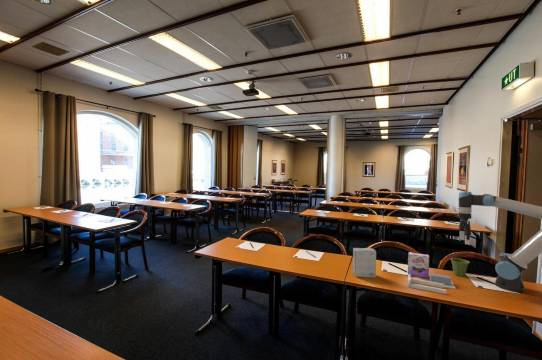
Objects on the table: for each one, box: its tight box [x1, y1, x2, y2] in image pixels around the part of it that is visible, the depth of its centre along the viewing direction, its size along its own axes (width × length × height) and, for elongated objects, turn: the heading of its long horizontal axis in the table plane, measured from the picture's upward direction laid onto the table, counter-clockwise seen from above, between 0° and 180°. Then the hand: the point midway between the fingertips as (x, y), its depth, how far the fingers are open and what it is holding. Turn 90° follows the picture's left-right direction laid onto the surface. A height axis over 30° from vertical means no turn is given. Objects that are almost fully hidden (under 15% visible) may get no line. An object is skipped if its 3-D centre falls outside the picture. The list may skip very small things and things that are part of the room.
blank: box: [429, 272, 452, 286], centre depth 184 cm, size 12×4×5 cm, turn 66°
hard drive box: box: [352, 247, 377, 279], centre depth 196 cm, size 16×8×20 cm, turn 84°
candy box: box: [407, 251, 430, 279], centre depth 198 cm, size 14×6×16 cm, turn 62°
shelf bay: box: [407, 273, 447, 295], centre depth 177 cm, size 22×11×5 cm, turn 64°
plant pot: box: [450, 257, 470, 277], centre depth 200 cm, size 12×12×11 cm
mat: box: [444, 281, 457, 290], centre depth 183 cm, size 11×11×1 cm
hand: (464, 242), depth 187 cm, fingers open, 13 cm apart
